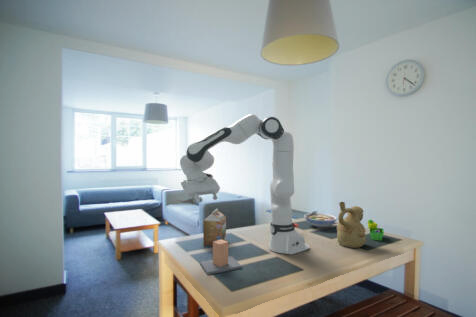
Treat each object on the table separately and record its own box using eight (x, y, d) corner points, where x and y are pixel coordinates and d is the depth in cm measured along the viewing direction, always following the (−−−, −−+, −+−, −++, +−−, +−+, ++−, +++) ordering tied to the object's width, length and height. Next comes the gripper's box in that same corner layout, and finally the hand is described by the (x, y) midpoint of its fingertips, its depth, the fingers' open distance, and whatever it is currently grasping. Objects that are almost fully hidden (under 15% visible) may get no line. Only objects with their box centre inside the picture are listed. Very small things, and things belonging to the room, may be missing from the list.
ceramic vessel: (374, 245, 141) (374, 201, 141) (352, 252, 131) (352, 204, 131) (347, 237, 155) (347, 197, 155) (326, 242, 145) (326, 200, 145)
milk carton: (221, 246, 139) (221, 212, 139) (203, 245, 141) (203, 211, 141) (226, 240, 149) (226, 208, 149) (209, 239, 152) (209, 208, 152)
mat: (231, 258, 122) (231, 256, 122) (241, 268, 112) (241, 265, 112) (199, 263, 116) (199, 261, 116) (207, 274, 105) (207, 272, 105)
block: (221, 260, 117) (221, 239, 117) (228, 263, 114) (228, 241, 114) (212, 263, 114) (212, 241, 114) (219, 267, 110) (219, 244, 110)
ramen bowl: (332, 233, 163) (332, 221, 163) (299, 228, 176) (299, 216, 176) (340, 225, 184) (340, 214, 184) (309, 220, 197) (309, 210, 197)
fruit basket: (384, 241, 147) (384, 222, 147) (367, 239, 152) (367, 221, 152) (383, 236, 157) (383, 218, 157) (367, 234, 162) (367, 217, 162)
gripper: (182, 176, 122) (193, 198, 115) (214, 174, 137) (226, 194, 130) (177, 185, 126) (188, 207, 119) (209, 182, 140) (221, 201, 133)
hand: (208, 200), depth 124 cm, fingers open, 8 cm apart
